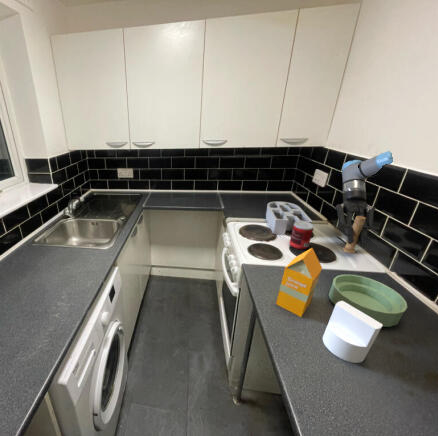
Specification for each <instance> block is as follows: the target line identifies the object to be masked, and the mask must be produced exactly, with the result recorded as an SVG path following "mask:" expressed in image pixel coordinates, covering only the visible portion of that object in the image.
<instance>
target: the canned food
mask: <svg viewBox="0 0 438 436" xmlns="http://www.w3.org/2000/svg"><path fill="white" fill-rule="evenodd" d="M314 229H315V226H314V224H313V223H312V224H310V223H308V222H303V221H298V222H295V223H294V226H293V230H292V231H291V235H290V239H289V246H291V247H292V248H294V249H297V250H307V249H308V248H309V245H310V243H311V239H312V235H313V234H314V233H313V232H314Z"/></svg>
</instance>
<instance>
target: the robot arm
mask: <svg viewBox="0 0 438 436" xmlns="http://www.w3.org/2000/svg"><path fill="white" fill-rule="evenodd" d="M392 162H393V157H392V153H391V152H390V150H388V151H385V152H381V153H379V154H377V155H374V156H373V157H371V158H368V159H366V160H360V159H352V160H348V161H347V162H345V163H344V164H343V165H342V171H341V175H342V203H341V204H340V203H338V204H337V205H336V206H335V207H334V209H335V210H336V211H337V217H338V218H337V219H338V226H339V227H340V228H343V230H344V234H345V236H347V241H348V244H351V243H353V242H354V241H353V226H352V221H353V214H355V215H356V216H362V217H365V211H364V210H366V219H365V222H364V224H363V227H362V230H361V232H360V235H359V238H358V246H363V245H365V244H366V241H365V240H366V239H365V238H367V237H368V231H369V230H371V229H373V227H374V214H375V213H374V212H375V210H376V209H375V208H376V206H370V205H368V203H367V193H366V192H367V191H366V189H367V188H366V179H369V177H370V178H372V177H373V176H372V175H374V174H376V173H377V172H378V171H379V170H380V169H381V168H382V166H383V165H385V164H391V163H392ZM358 165H359V168H358ZM371 176H372V177H371ZM344 209H345V210H346V217H345V211H344ZM351 226H352V227H351Z"/></svg>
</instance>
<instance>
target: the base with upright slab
mask: <svg viewBox="0 0 438 436" xmlns="http://www.w3.org/2000/svg"><path fill="white" fill-rule="evenodd" d="M382 327H384V326H383V324H381V323H379V322H378V321H376V320H374V319H373V318H371V317H369V316H368V315H366V314H364V313H363V312H361V311H359V310H357V309H356V308H354V307H352V306H351V305H349V304H347V303H346V302H344V301H339V302H337V303H336V305H335V304H334V308H333V310H332V313H331V315H330V317H329V321H328V323H327V326H326V328H325V330H324V333H323V335H322V342H323V345H324V347H326V348H327V350H328V351H330V353H331V354H333V355H334V356H336V357H337V358H339V359H341V360H343V361H345V362H348V363H354V364H359V363H362V362H364V361H365V359H366V357H367V356H368V354H369V351H370V350H371V348H372V346H373V344H374V342H375V341H376V339H377V336H378V335H379V333H380V331H381V330H382Z"/></svg>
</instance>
